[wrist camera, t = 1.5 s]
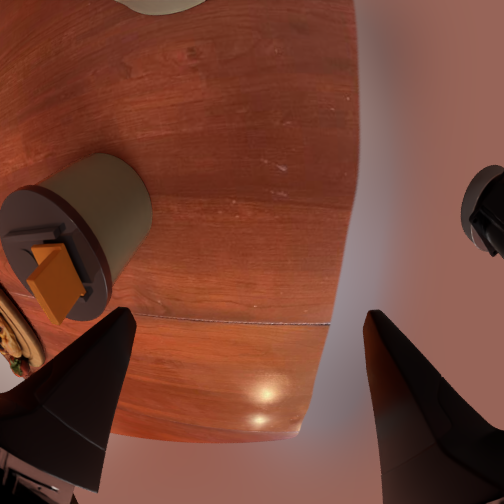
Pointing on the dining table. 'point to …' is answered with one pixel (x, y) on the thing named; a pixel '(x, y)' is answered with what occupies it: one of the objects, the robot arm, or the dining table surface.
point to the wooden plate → (18, 339)
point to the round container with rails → (80, 224)
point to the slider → (55, 281)
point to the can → (159, 6)
